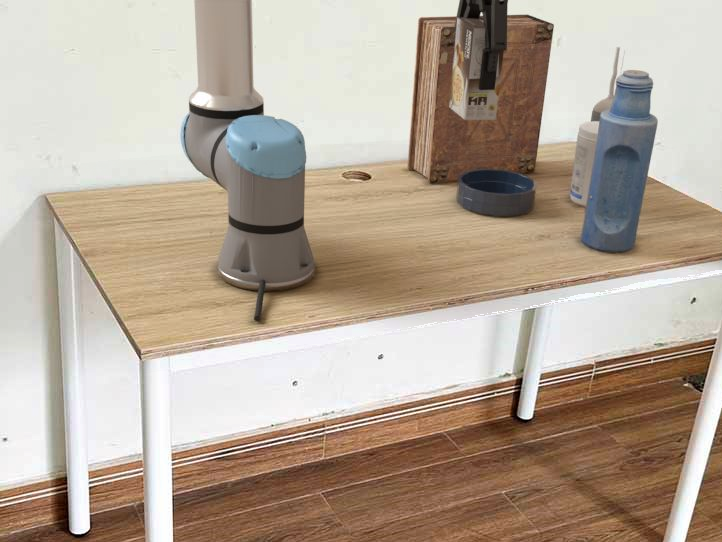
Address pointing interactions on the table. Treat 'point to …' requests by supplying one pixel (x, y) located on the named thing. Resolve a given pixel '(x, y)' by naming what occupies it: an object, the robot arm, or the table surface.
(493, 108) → the coffee box
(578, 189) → the supplement tub
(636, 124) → the bottle
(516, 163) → the book
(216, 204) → the table surface
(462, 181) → the bowl
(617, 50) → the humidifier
